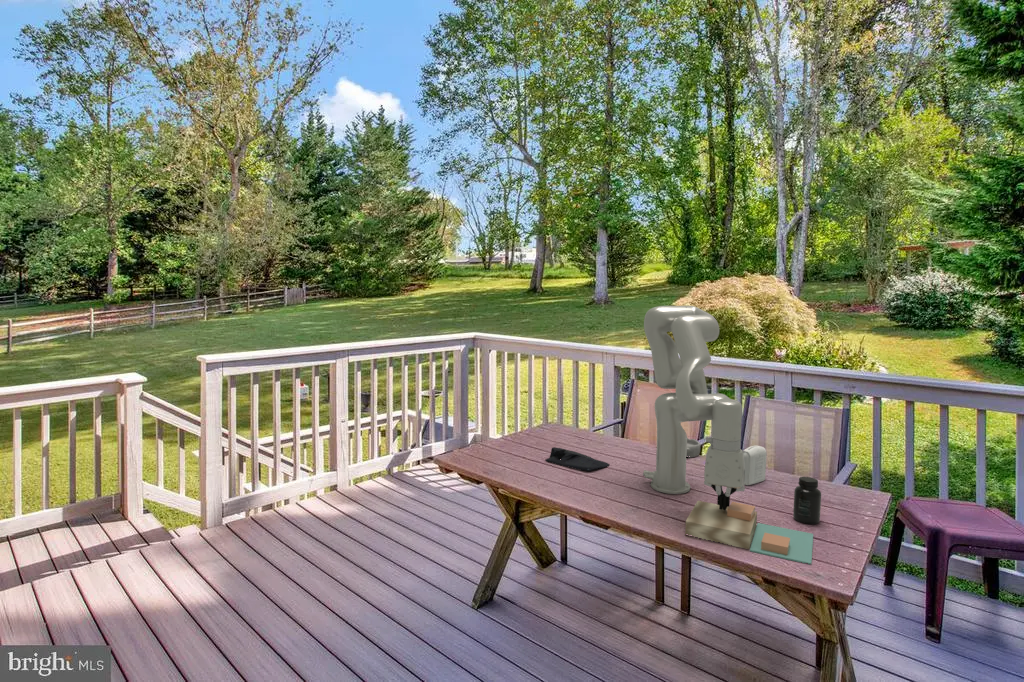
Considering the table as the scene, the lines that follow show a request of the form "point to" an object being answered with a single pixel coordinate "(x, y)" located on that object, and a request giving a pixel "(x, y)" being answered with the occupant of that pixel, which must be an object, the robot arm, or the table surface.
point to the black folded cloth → (575, 459)
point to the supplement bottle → (807, 501)
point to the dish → (693, 447)
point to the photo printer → (754, 464)
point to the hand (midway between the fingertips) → (723, 508)
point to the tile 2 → (775, 543)
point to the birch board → (719, 525)
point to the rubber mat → (798, 543)
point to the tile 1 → (741, 511)
